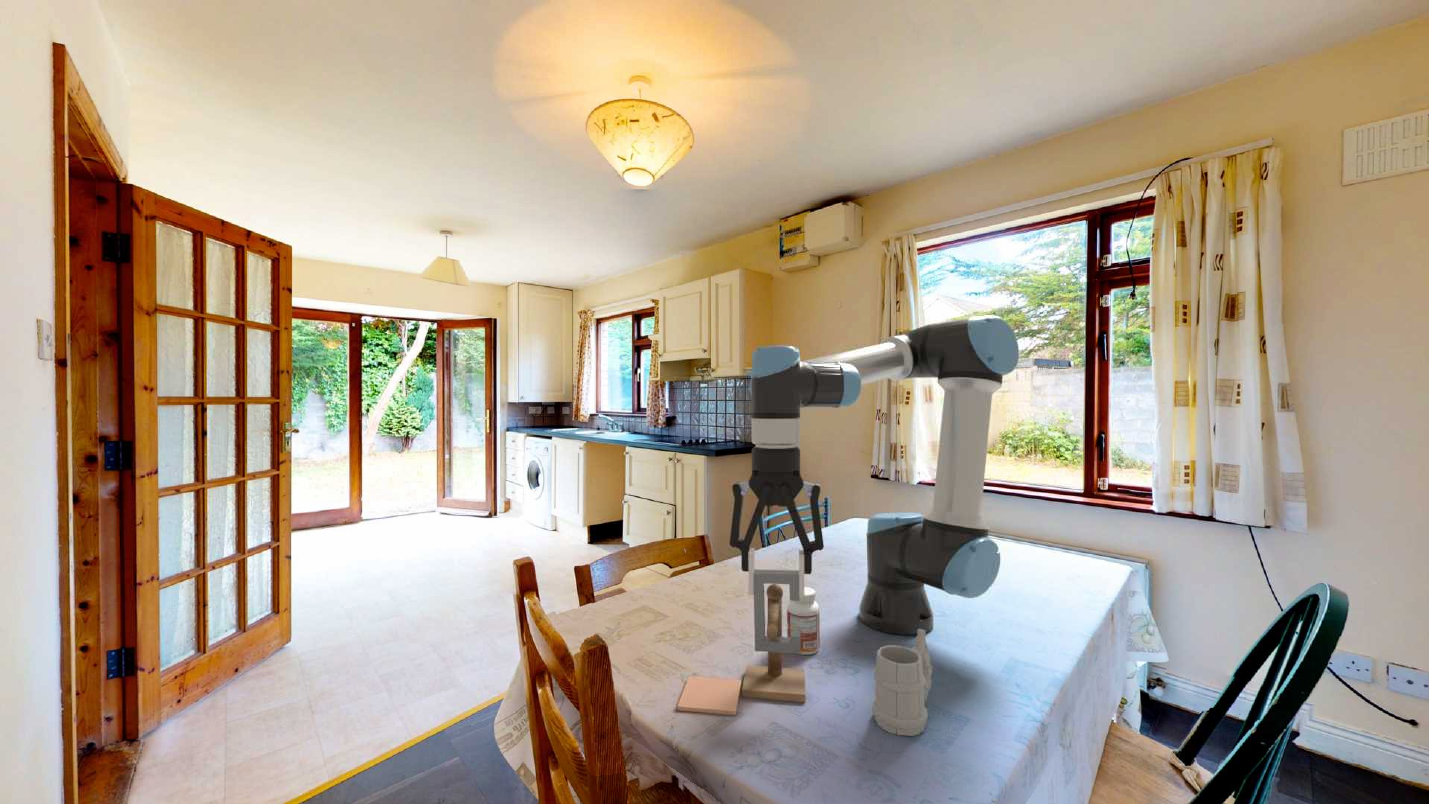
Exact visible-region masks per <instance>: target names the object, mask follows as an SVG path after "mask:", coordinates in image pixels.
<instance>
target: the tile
mask: <svg viewBox="0 0 1429 804" xmlns="http://www.w3.org/2000/svg"><path fill="white" fill-rule="evenodd" d="M742 681H743V680H741V679H728V678H717V677H703V676H691V675H688V677H687V680H686V683H685V684H684V685H685V686H684V688H683V691H682V693H681V694H680V695H681V696H680V699H679V700H678V704H676V705H677V706H676V710H677V711H681V712H694V713H703V714H704V713H707V714H717V715H726V716H727V715H728V716H736V714H737V709H738V705H739V700H740V693H741V690H742V685H743V682H742Z"/></svg>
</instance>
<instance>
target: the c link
mask: <svg viewBox="0 0 1429 804" xmlns="http://www.w3.org/2000/svg"><path fill="white" fill-rule="evenodd" d="M765 584H769V585H772V584H777V585H789V601H800V597H799V570H788V569H754V595H753V615H754V618H753V619H754V623H753V624H754V652H766V653H768V652H782V654H784V653H786V654H797V653H801V639H800V631H791V637H787V636H782V637H776V638H775V639H769V638H768V637H767V635H766V614H765V612H766V609H765Z"/></svg>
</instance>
